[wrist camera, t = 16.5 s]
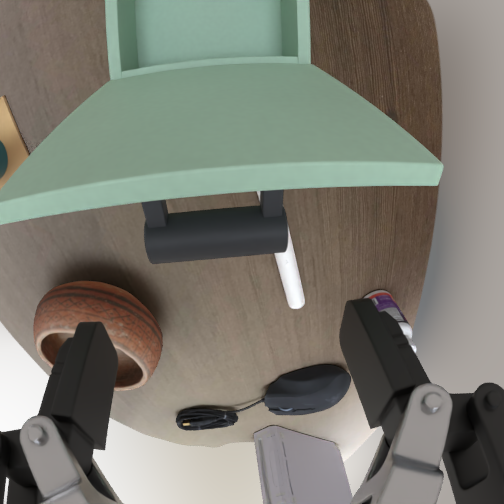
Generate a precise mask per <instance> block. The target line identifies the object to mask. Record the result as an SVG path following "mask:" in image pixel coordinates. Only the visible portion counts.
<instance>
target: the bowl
mask: <svg viewBox="0 0 504 504" xmlns="http://www.w3.org/2000/svg"><path fill="white" fill-rule="evenodd" d="M97 321H100V322H102V323H103V325H104V327H105V329H106V331H107V333H108V335H109V337H110V339H111V341H112V343H113V345H114V347H115V349H116V352H117V355H118V370H117V376H116V381H115V387H114V390H117V391H123V390H133V389H136V388H138V387H141V386H143V385H144V384H145V383H146V382H147V381H148V380H149V379H150V377H151V376H152V374H153V372H154V370H155V369H156V367H157V364H158V361H159V359H160V355H161V351H162V346H163V345H162V332H161V329H160V327H159V325H158V323H157V321H156V319H155V318H154V316H153V315H152V314H151V313H150V311H149V310H148V309H147V308H146V307H145V306H144V305H143V304H142V303H141V302H140V301H139V300H138V299H136V298H135V297H134V296H133V295H131V294H130V293H129V292H127V291H125V290H123V289H121V288H118V287H116V286H113V285H110V284H106V283H102V282H95V281H76V282H70V283H66V284H62V285H60V286H57V287H55V288H53V289H52V290H50V291H49V292H48V293H47V294H45V295H44V297H43V298H42V300H41V301H40V303H39V304H38V306H37V310H36V314H35V318H34V342H35V346H36V349H37V351H38V353H39V355H40V357H41V358H42V359H43V360H44V361H45V362H46V363H47V364H48V365H49V366H50V367H52V368H53V365H54V364H55V359H56V356H57V353H58V351H59V348H60V347H61V346H62V345H63V343H64V342H65V341H66V340H67V338H68V337H73V336H74V333H75V331H76V328H77V325H78V324H79V323H80V322H97Z"/></svg>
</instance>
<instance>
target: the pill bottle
mask: <svg viewBox="0 0 504 504" xmlns="http://www.w3.org/2000/svg"><path fill="white" fill-rule="evenodd" d="M364 298H371V299H372V301H373V302H374V304H375V306H376V308H377V310H378V311H379V312H380V311H386V312H387V313H389V314H390V315H391V316H392V317H393V318H395V319H396V320H397V322H398V323H399V325H400V327H401V329H402V330H403V332H404V333H403V334H404V335H405V336H406V338H407V339H408V341H409V345H411V347H412V348H413V350H414V352H415V353H416V347H415V344H414V343H413V341H412V340H411V337H412V329H411V327H410V325H409V323H408V321H407V320H406V318H405V317H404V315H403V313H402V312H401V310H400V309H399V307H398V305H397V304H396V302H395V301H394V299H393V297H392V296H391V294H390V293H389V292H387V291H384V290H377V291H374V292H371V293H370V294H368V295H366V296H365V297H364Z"/></svg>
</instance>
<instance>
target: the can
mask: <svg viewBox="0 0 504 504" xmlns="http://www.w3.org/2000/svg"><path fill="white" fill-rule="evenodd" d="M7 165H8V156H7V151H6V149H5V146H4V145H3V143H2V142H1V141H0V179H1V178H2V177H3V175H4V174H5V172H6V169H7Z"/></svg>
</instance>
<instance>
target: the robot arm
mask: <svg viewBox="0 0 504 504" xmlns="http://www.w3.org/2000/svg"><path fill="white" fill-rule="evenodd" d="M403 333H404V332H403V330H402V329H401V327H400V325H399V323H398V322H397V320H396V319H395V318H393V317H392V316H391V315H390V314H389V313H387V312H386V311H380V312H379V311H378V310H377V308H376V306H375V304H374V302H373V301H372V299H371V298H363V299H356V300H349V301H347V303H346V306H345V310H344V315H343V320H342V324H341V328H340V334H339V338H340V346H341V349H342V352H343V355H344V357H345V360H346V362H347V365H348V368H349V370H350V373H351V376H352V378H353V381H354V384H355V387H356V389H357V392H358V395H359V398H360V400H361V403H362V406H363V409H364V411H365V414H366V417H367V420H368V423H369V426H370V428H371V429H372V428H375V427H379V426H382V429H383V431H384V434H383V436H382V438H381V441H380V444H379V446H378V448H377V451H376V453H375V456H374V458H373V461H372V463H371V465H370V468H369V470H368V472H367V474H366V477H365V479H364V481H363V483H362V485H361V486H360V488H359V489H358V491H357V492H356V494H355V495H354V497H353V499H352V501H351V502H350V504H436V502H437V499H438V496H439V493H440V490H441V486H442V483H443V478H444V476H443V472H442V471H441V470H440V469H439V466H440V461H441V457H442V458H443V461H444V464H445V468H446V471H447V474H448V477H449V480H450V483H451V486H452V490H453V493H454V497H455V501H456V504H504V390H503V389H502V388H501V387H500V386H499V385H497V384H494V383H484V384H482V385H480V386H479V387H478V388H477V390H476V391H475V392H474V393H466V394H449V393H448V392H447V391H446V390H445V389H444V388H442V387H441V386H439V385H436V384H432V383H431V382H430V380H429V379H428V377H427V375H426V373H425V371H424V369H423V367H422V365H421V364H420V361H419V360H418V358H417V356H416V354H415V352H414V350H413V348H412V347H411V345H409V341H408V339H407V338H406V336H405V335H404V334H403ZM117 370H118V355H117V352H116V349H115V347H114V345H113V343H112V341H111V339H110V337H109V335H108V333H107V331H106V329H105V327H104V325H103V323H102V322H100V321H97V322H80V323H79V324H78V325H77V328H76V331H75V333H74V336H73V337H68V338H67V340H66V341H65V342H64V343H63V345H62V346H61V347H60V348H59V351H58V353H57V356H56V359H55V364H54V365H53V368H52V371H51V373H52V374H51V375H50V377H49V380H48V384H47V387H46V390H45V393H44V397H43V400H42V404H41V407H40V410H39V413H38V415H37V416H34V417H31V418H30V419H28V420H27V421H26V422H25V423H24V425H23V427H22V429H19V430H13V431H7V432H1V431H0V504H3V501H4V492H5V483H6V477H7V478H9V486H8V496H7V504H123V503H122V502H121V500H120V499H119V497H118V496H117V495H116V493H115V492H114V490H113V489H112V487H111V486H110V484H109V483H108V481H107V480H106V478H105V476H104V475H103V474H102V472H101V470H100V468H99V467H98V465H97V463H96V462H95V461H94V459H93V458H92V455H93V449H99V450H105V445H106V437H107V429H108V423H109V416H110V410H111V404H112V398H113V392H114V387H115V381H116V376H117Z"/></svg>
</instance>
